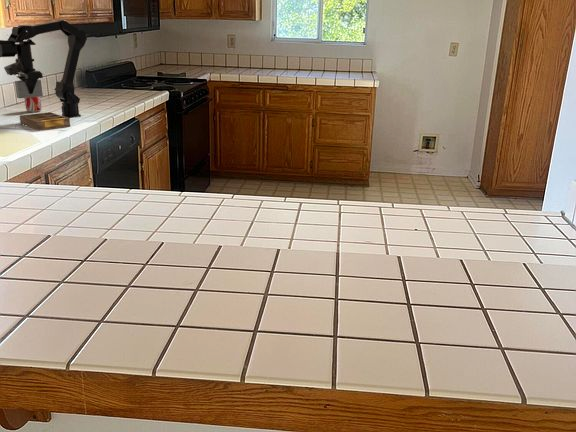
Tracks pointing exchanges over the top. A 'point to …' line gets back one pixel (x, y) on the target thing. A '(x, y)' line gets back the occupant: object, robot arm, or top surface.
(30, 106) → the soda can
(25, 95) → the block
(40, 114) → the rack
